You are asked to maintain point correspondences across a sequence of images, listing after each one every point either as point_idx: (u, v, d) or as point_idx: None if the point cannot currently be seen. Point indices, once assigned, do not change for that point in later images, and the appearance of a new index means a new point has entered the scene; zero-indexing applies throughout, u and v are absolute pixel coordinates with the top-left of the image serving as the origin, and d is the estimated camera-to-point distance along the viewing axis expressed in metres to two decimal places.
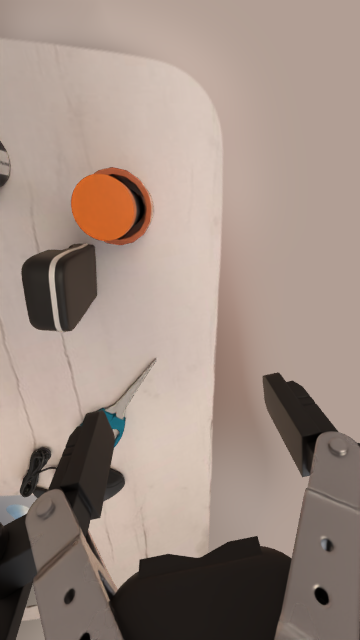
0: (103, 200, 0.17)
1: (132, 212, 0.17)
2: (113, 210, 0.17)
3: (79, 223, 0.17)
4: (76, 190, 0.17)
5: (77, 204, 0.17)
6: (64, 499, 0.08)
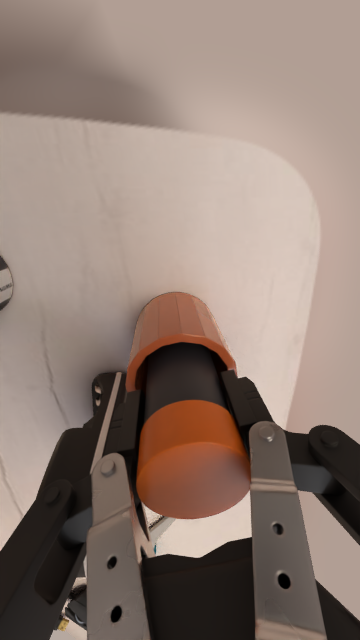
0: (199, 474, 0.09)
1: (249, 484, 0.09)
2: (215, 485, 0.09)
3: (149, 504, 0.09)
4: (149, 466, 0.08)
5: (147, 482, 0.09)
6: (124, 461, 0.09)
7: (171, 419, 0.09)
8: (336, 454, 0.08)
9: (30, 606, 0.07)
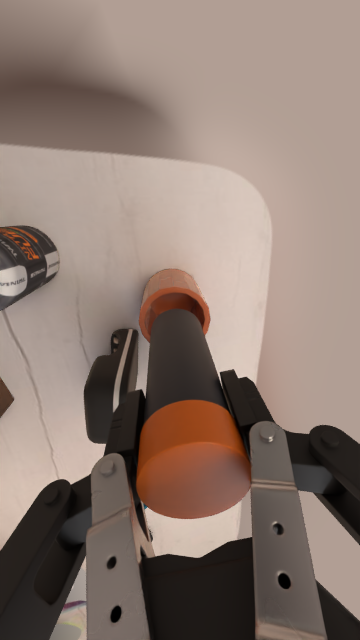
0: (199, 474, 0.09)
1: (249, 484, 0.09)
2: (214, 484, 0.09)
3: (149, 504, 0.09)
4: (149, 466, 0.08)
5: (147, 482, 0.09)
6: (124, 461, 0.09)
7: (171, 419, 0.09)
8: (337, 454, 0.08)
9: (29, 606, 0.07)
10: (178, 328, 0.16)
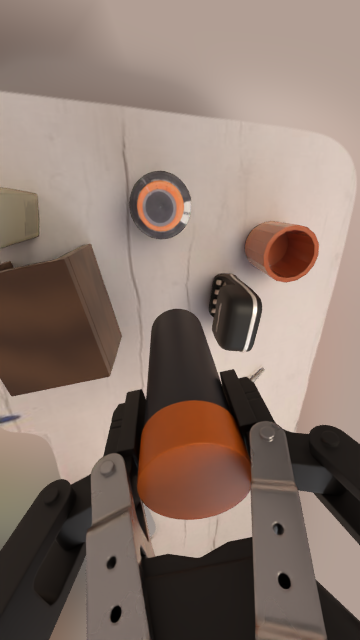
0: (199, 475, 0.09)
1: (250, 485, 0.09)
2: (215, 485, 0.09)
3: (150, 505, 0.09)
4: (150, 466, 0.08)
5: (148, 482, 0.09)
6: (124, 461, 0.09)
7: (172, 420, 0.09)
8: (337, 454, 0.08)
9: (29, 606, 0.07)
10: (178, 328, 0.16)
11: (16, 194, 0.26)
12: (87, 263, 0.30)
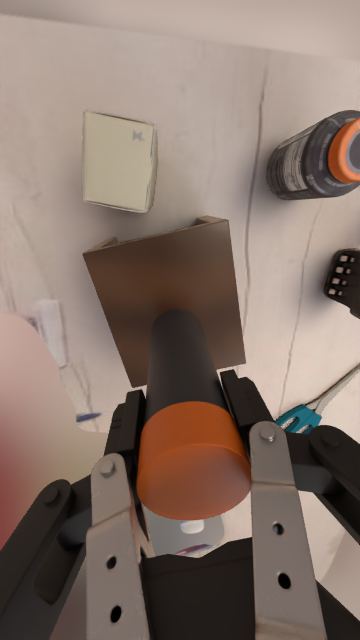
0: (199, 475, 0.09)
1: (249, 486, 0.09)
2: (215, 486, 0.09)
3: (149, 506, 0.09)
4: (149, 467, 0.08)
5: (147, 484, 0.09)
6: (124, 461, 0.09)
7: (171, 420, 0.09)
8: (337, 454, 0.08)
9: (30, 606, 0.07)
10: (178, 329, 0.16)
11: None
12: None
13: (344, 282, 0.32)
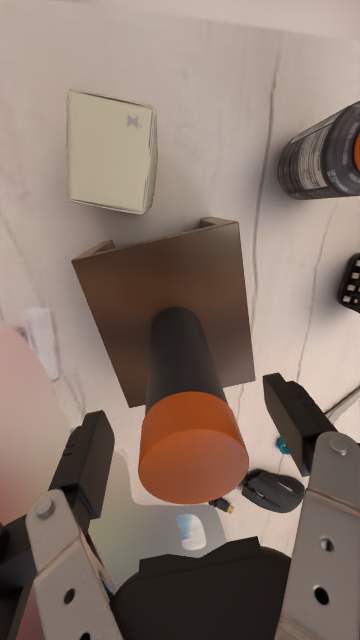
0: (197, 460, 0.09)
1: (245, 470, 0.10)
2: (212, 471, 0.10)
3: (150, 489, 0.10)
4: (150, 452, 0.09)
5: (149, 468, 0.09)
6: (64, 499, 0.08)
7: (171, 409, 0.10)
8: None
9: None
10: (178, 325, 0.16)
11: None
12: None
13: None
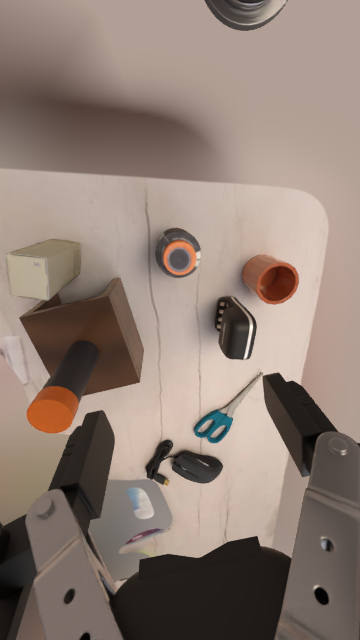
0: (49, 412, 0.24)
1: (71, 417, 0.24)
2: (57, 417, 0.24)
3: (34, 425, 0.24)
4: (29, 408, 0.24)
5: (30, 415, 0.24)
6: (64, 499, 0.08)
7: (42, 393, 0.24)
8: None
9: None
10: (73, 353, 0.31)
11: (69, 247, 0.34)
12: (119, 294, 0.38)
13: None
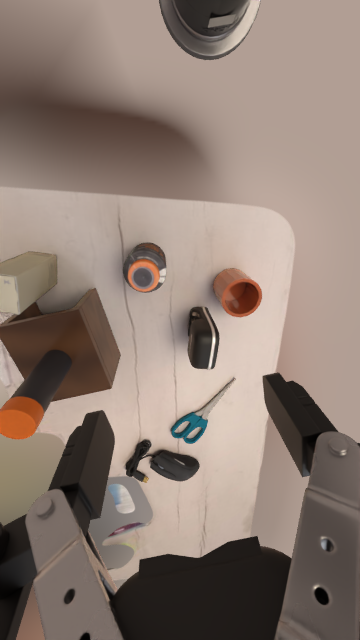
0: (14, 421, 0.26)
1: (34, 425, 0.27)
2: (22, 425, 0.26)
3: (0, 432, 0.27)
4: None
5: None
6: (64, 499, 0.08)
7: (8, 403, 0.27)
8: None
9: None
10: (44, 363, 0.33)
11: (43, 262, 0.36)
12: (93, 305, 0.40)
13: None
